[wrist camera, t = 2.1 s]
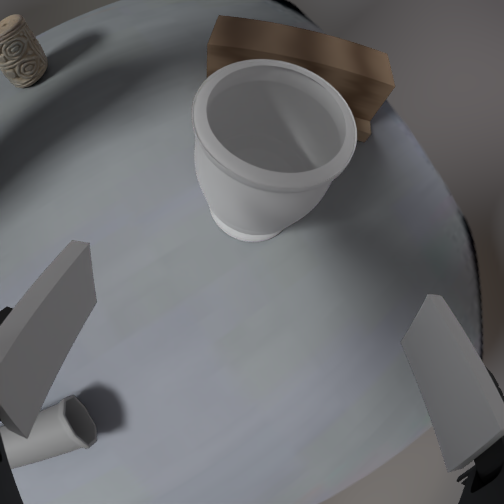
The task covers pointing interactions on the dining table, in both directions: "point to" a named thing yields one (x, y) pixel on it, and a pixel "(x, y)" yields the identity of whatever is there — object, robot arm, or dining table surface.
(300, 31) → the wooden block
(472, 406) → the robot arm
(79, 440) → the tube
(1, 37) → the carving
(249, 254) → the dining table surface
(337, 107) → the jar
